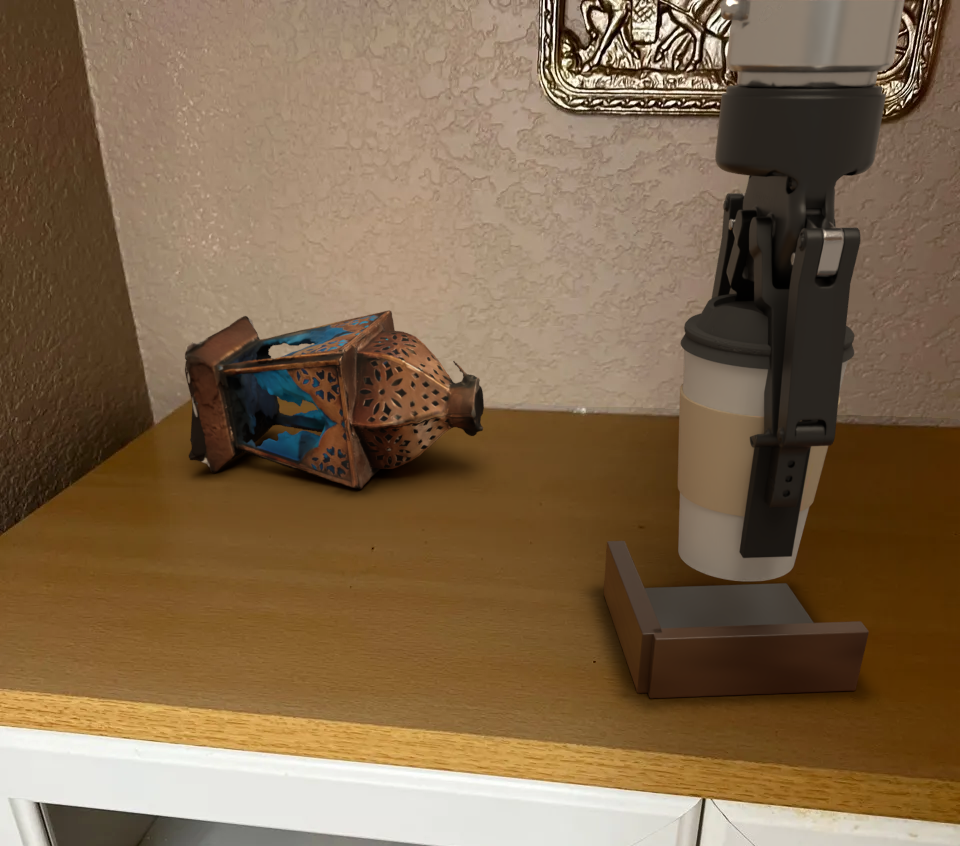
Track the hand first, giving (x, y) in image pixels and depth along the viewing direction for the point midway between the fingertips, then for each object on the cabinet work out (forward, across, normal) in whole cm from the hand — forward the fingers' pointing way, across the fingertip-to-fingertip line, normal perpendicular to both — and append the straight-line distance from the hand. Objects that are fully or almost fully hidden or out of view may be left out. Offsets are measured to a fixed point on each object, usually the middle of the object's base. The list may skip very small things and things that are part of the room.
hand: (741, 519), depth 58 cm
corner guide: (+8, 0, 0) cm, 8 cm away
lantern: (+8, -31, -26) cm, 41 cm away
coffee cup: (+3, 0, 0) cm, 3 cm away
